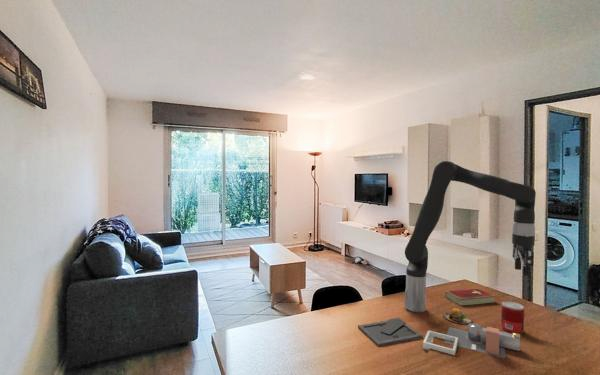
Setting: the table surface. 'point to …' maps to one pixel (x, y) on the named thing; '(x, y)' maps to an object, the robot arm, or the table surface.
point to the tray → (428, 344)
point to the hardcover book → (470, 296)
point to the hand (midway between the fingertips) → (521, 272)
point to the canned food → (512, 317)
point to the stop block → (492, 340)
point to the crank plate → (470, 342)
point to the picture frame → (389, 332)
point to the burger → (457, 316)
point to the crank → (505, 339)
